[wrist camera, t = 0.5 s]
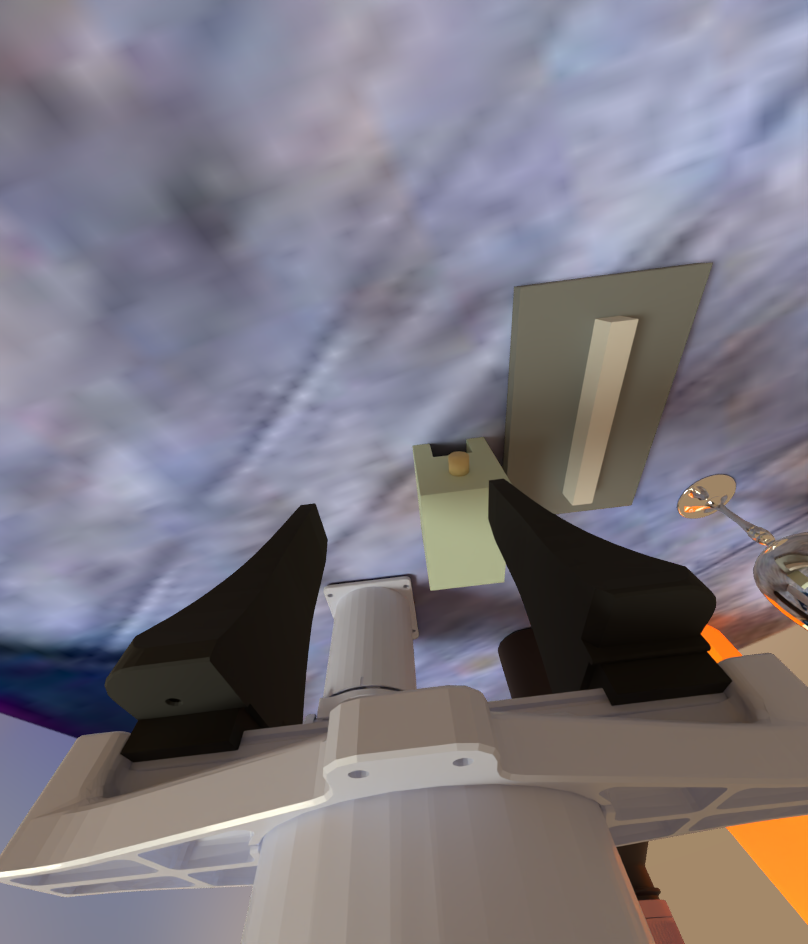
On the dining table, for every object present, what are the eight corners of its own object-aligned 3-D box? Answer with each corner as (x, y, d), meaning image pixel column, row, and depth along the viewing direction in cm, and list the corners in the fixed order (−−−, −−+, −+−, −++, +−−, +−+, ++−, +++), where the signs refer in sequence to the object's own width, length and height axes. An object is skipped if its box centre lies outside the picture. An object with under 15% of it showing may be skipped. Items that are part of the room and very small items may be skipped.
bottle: (498, 629, 35) (606, 967, 18) (560, 622, 35) (728, 955, 18) (495, 662, 38) (583, 970, 22) (551, 656, 38) (684, 960, 21)
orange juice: (720, 630, 37) (999, 928, 20) (655, 667, 41) (845, 943, 24) (681, 611, 35) (962, 931, 18) (616, 651, 39) (797, 948, 22)
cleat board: (623, 497, 26) (644, 517, 24) (500, 512, 26) (510, 533, 24) (697, 263, 18) (740, 262, 15) (514, 286, 18) (531, 288, 16)
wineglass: (678, 475, 25) (878, 613, 15) (755, 460, 25) (1014, 592, 15) (661, 529, 28) (819, 674, 18) (730, 517, 28) (930, 658, 18)
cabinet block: (481, 523, 27) (504, 582, 22) (421, 530, 27) (430, 590, 22) (483, 423, 22) (513, 469, 17) (410, 432, 22) (418, 480, 17)
